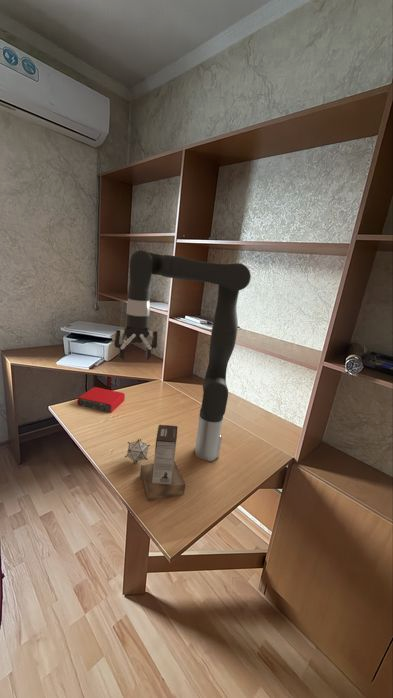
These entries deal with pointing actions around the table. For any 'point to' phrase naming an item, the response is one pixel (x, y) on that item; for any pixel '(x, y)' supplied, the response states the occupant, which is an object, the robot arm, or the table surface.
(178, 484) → the walnut plinth
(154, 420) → the table surface
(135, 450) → the game die
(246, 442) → the table surface
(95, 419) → the table surface
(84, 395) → the red device housing
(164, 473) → the coffee box
